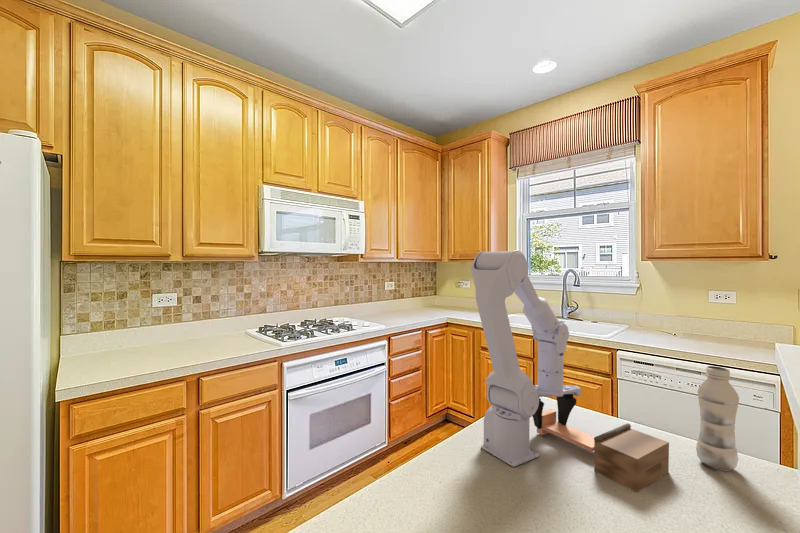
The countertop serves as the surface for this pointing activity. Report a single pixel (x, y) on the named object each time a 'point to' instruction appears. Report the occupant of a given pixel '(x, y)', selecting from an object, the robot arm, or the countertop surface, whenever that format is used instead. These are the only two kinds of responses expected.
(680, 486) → the countertop surface
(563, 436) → the peach l-shaped bracket
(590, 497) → the countertop surface
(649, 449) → the dispenser
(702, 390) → the plastic bottle
